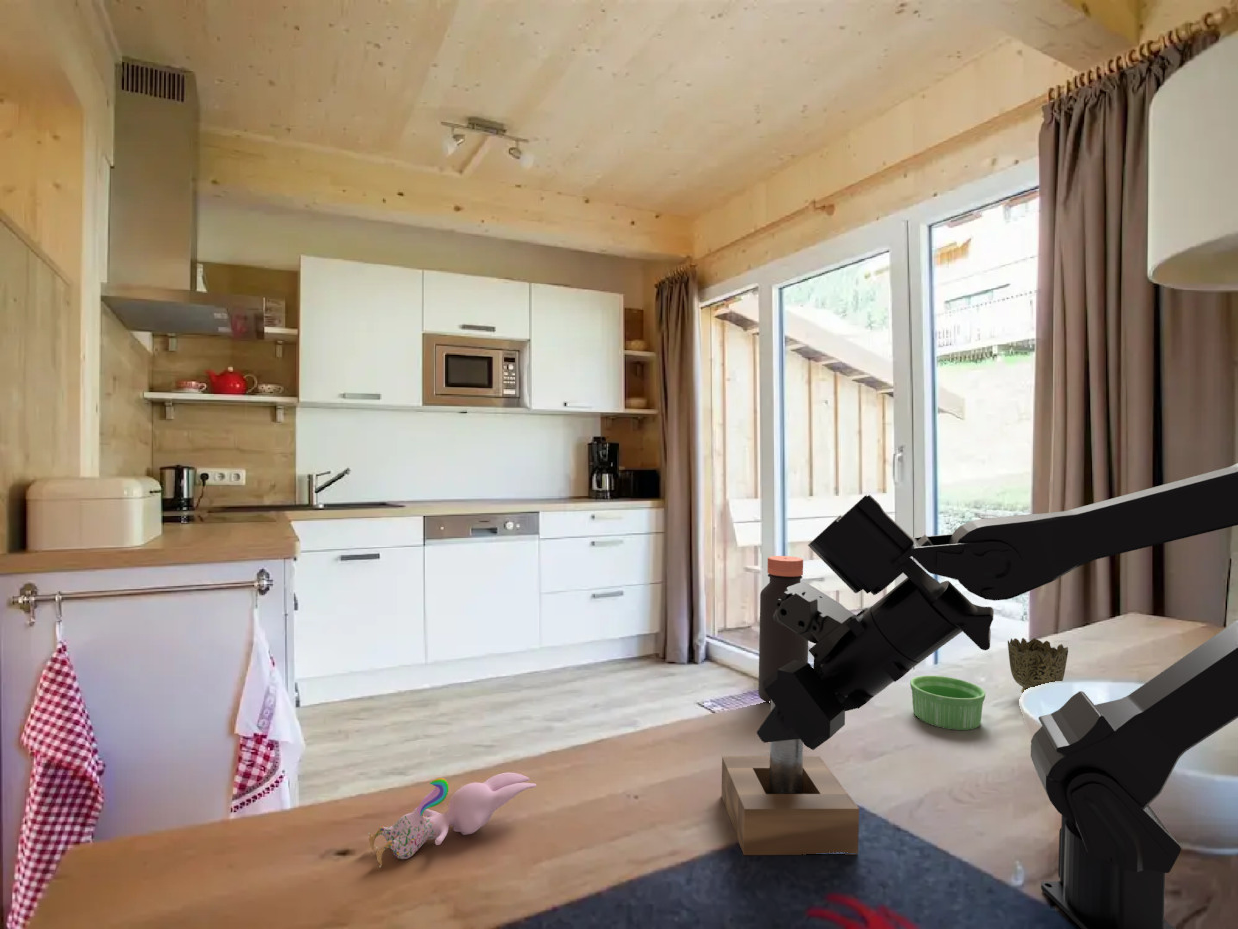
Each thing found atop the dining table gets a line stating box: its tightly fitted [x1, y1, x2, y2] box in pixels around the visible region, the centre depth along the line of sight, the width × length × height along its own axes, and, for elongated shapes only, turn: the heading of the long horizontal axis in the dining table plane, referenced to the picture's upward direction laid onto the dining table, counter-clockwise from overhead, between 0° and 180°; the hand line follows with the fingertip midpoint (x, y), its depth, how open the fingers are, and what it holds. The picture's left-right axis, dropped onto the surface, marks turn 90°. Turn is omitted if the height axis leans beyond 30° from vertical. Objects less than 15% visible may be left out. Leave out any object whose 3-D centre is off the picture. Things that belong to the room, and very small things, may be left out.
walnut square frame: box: [720, 755, 860, 856], centre depth 63 cm, size 10×10×4 cm
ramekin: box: [909, 675, 986, 731], centre depth 89 cm, size 9×9×4 cm
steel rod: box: [769, 700, 804, 794], centre depth 63 cm, size 3×3×13 cm
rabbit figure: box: [367, 772, 537, 868], centre depth 60 cm, size 6×6×15 cm
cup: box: [1007, 637, 1069, 694], centre depth 96 cm, size 8×7×8 cm
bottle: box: [757, 555, 809, 705], centre depth 95 cm, size 7×7×20 cm
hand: (772, 728), depth 63 cm, fingers open, 5 cm apart
